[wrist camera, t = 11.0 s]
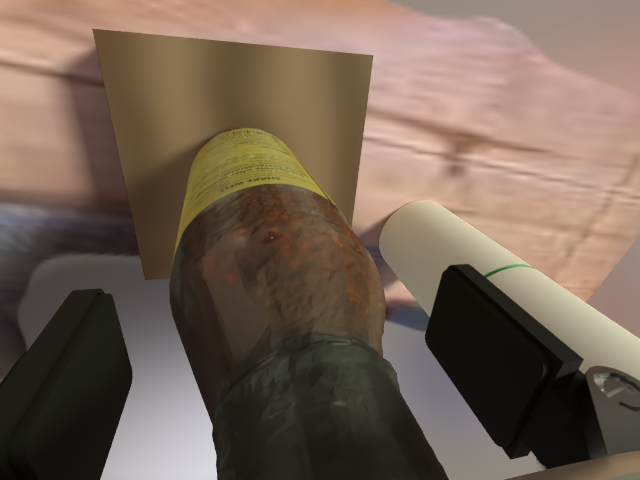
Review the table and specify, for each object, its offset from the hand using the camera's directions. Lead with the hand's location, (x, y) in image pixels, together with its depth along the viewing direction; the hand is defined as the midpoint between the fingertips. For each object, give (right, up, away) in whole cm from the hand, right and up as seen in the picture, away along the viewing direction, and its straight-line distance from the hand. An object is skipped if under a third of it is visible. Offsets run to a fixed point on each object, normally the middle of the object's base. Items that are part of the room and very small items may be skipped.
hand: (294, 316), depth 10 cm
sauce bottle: (-4, +6, +11) cm, 13 cm away
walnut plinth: (-4, +8, +14) cm, 17 cm away
